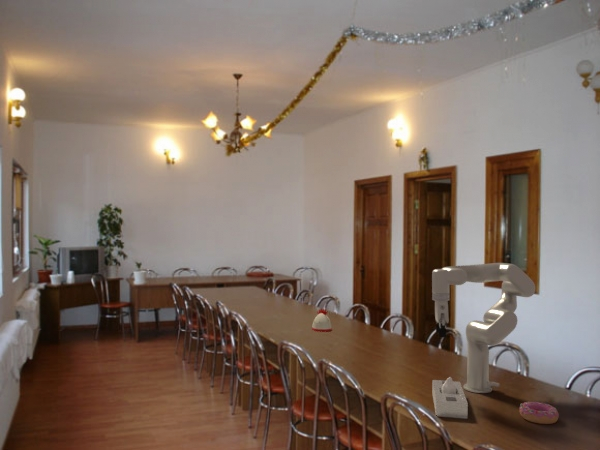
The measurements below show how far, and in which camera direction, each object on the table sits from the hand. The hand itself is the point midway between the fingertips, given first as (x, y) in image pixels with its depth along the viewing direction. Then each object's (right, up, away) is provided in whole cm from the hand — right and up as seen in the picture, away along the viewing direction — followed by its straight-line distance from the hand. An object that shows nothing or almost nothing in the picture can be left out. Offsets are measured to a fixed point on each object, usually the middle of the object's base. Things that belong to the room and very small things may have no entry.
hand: (441, 334), depth 245 cm
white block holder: (-1, -27, -15) cm, 31 cm away
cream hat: (-48, -25, +142) cm, 152 cm away
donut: (+31, -28, -29) cm, 51 cm away
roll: (-1, -27, -15) cm, 31 cm away
